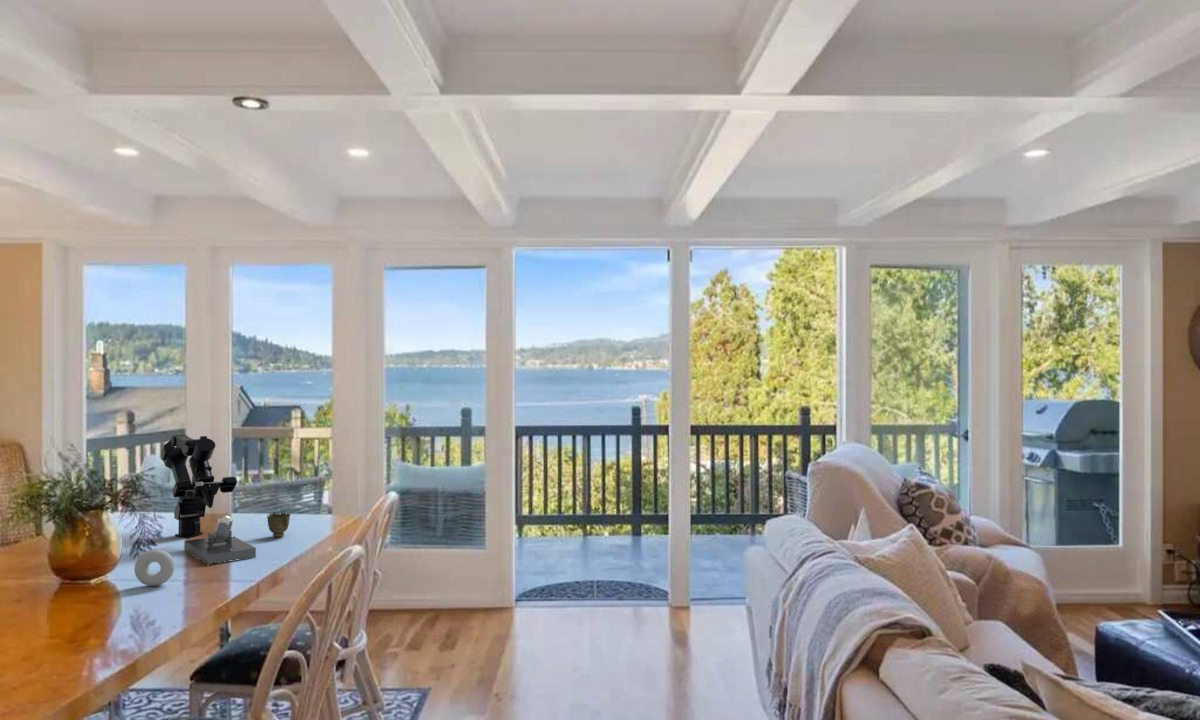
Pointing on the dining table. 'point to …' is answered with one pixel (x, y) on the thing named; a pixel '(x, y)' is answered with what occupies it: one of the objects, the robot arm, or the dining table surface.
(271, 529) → the cup
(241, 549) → the lever base
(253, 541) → the dining table surface
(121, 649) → the dining table surface
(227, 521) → the lever
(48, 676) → the dining table surface
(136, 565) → the donut
